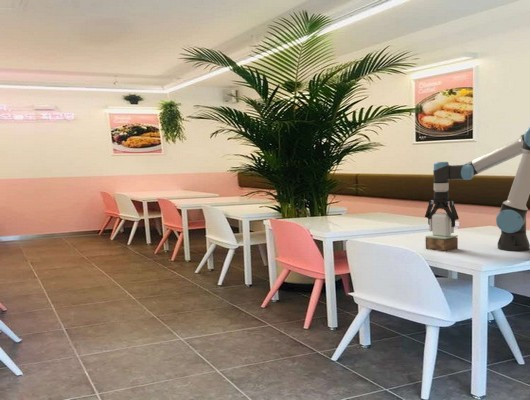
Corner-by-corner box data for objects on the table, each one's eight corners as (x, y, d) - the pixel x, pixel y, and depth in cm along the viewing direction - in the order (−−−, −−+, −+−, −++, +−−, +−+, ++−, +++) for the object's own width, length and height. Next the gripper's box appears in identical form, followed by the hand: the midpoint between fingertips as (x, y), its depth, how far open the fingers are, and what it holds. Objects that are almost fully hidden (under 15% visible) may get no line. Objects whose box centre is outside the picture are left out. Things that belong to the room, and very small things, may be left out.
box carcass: (457, 248, 268) (457, 237, 267) (445, 251, 261) (445, 240, 261) (438, 246, 277) (437, 235, 277) (425, 248, 271) (425, 237, 270)
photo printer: (431, 235, 272) (430, 212, 272) (436, 234, 274) (436, 211, 274) (446, 236, 263) (445, 213, 263) (452, 236, 265) (451, 212, 265)
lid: (457, 236, 267) (457, 235, 267) (445, 239, 261) (445, 237, 261) (437, 235, 277) (437, 233, 277) (425, 237, 270) (425, 236, 270)
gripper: (465, 191, 260) (466, 233, 261) (426, 190, 279) (426, 229, 280) (457, 192, 255) (457, 234, 257) (417, 190, 274) (418, 230, 276)
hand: (441, 232), depth 269 cm, fingers open, 12 cm apart
